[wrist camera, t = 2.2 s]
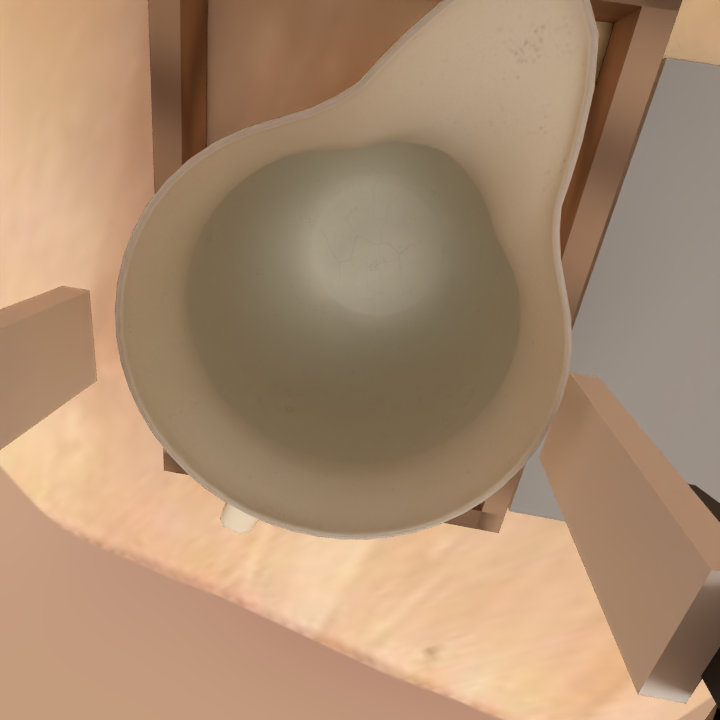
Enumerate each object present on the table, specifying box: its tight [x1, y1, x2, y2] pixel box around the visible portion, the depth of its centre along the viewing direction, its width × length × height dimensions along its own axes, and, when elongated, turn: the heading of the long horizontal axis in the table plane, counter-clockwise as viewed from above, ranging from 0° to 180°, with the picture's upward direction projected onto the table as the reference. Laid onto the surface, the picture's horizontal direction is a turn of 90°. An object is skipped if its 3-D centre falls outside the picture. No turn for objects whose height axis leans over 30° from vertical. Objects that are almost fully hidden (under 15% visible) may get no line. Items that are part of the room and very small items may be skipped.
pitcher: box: [115, 0, 599, 540], centre depth 17 cm, size 11×18×14 cm, turn 152°
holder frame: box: [148, 0, 682, 533], centre depth 22 cm, size 24×18×2 cm
